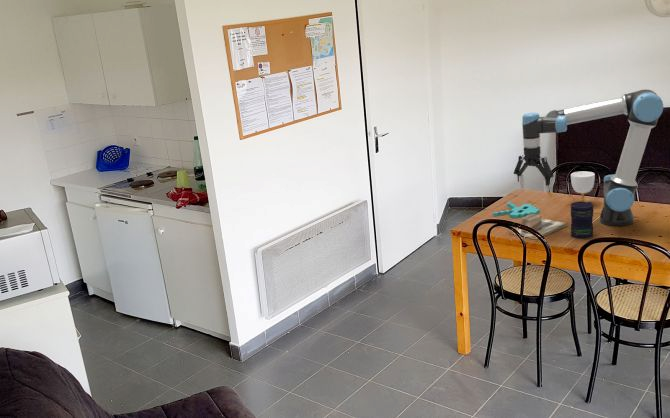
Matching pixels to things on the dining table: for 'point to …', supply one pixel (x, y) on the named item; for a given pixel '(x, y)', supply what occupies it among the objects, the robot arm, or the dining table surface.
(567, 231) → the dining table surface
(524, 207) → the alien figure
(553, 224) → the board
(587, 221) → the storage jar
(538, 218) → the block
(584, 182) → the cup
